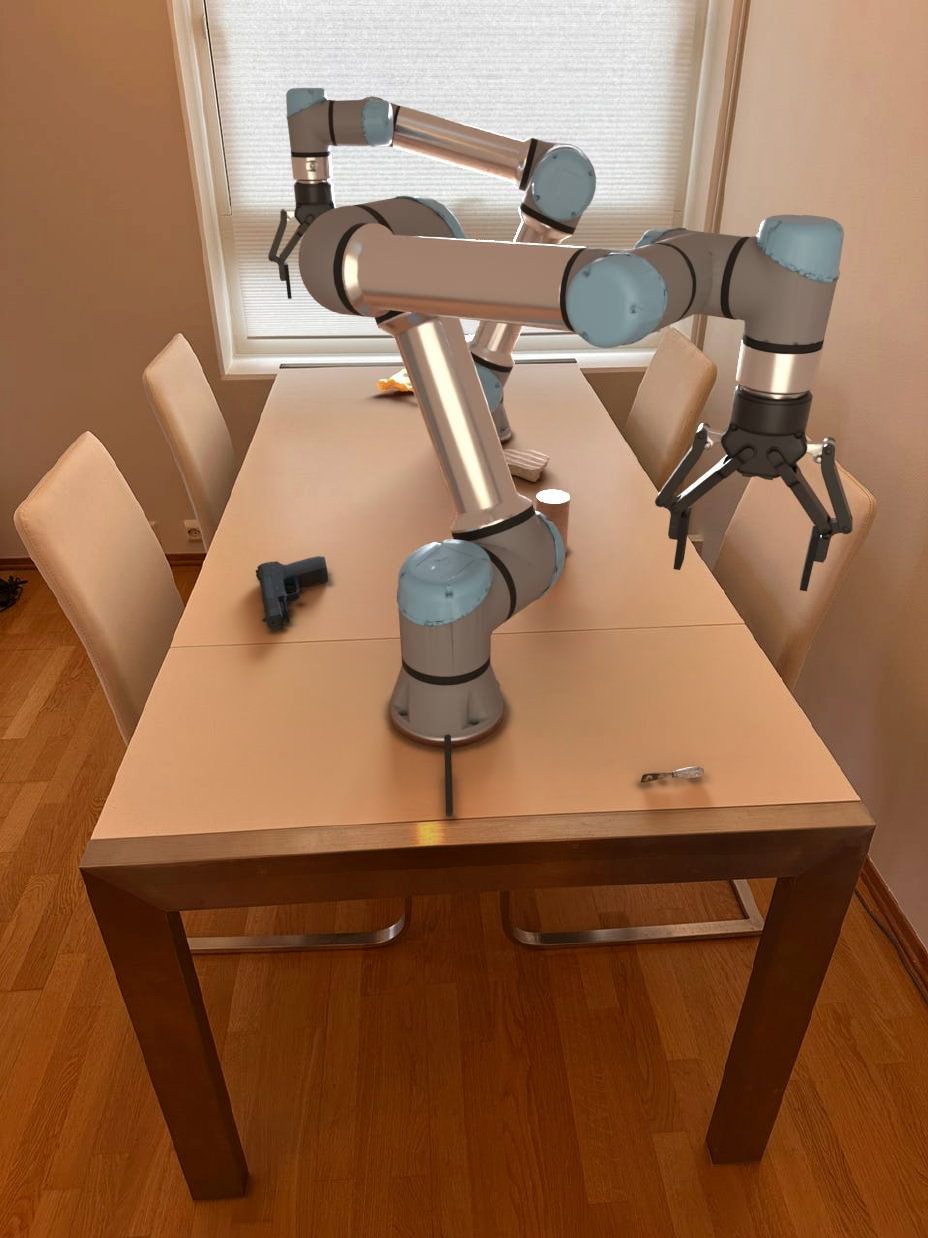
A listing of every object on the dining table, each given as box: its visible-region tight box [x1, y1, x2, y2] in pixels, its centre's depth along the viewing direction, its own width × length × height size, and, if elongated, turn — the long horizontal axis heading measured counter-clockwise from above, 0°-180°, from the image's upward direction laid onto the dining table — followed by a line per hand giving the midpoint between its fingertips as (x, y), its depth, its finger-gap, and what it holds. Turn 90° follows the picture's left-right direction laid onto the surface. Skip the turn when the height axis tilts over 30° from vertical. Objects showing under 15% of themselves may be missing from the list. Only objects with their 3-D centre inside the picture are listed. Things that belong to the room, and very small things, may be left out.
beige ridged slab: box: [502, 448, 550, 483], centre depth 192 cm, size 13×12×2 cm
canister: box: [535, 489, 571, 555], centre depth 158 cm, size 6×6×11 cm
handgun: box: [255, 555, 329, 631], centre depth 146 cm, size 3×17×12 cm
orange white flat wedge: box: [377, 367, 413, 392], centre depth 240 cm, size 20×20×4 cm
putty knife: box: [640, 765, 705, 784], centre depth 109 cm, size 1×8×2 cm, turn 103°
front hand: (739, 574), depth 100 cm, fingers open, 13 cm apart
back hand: (323, 295), depth 183 cm, fingers open, 13 cm apart
